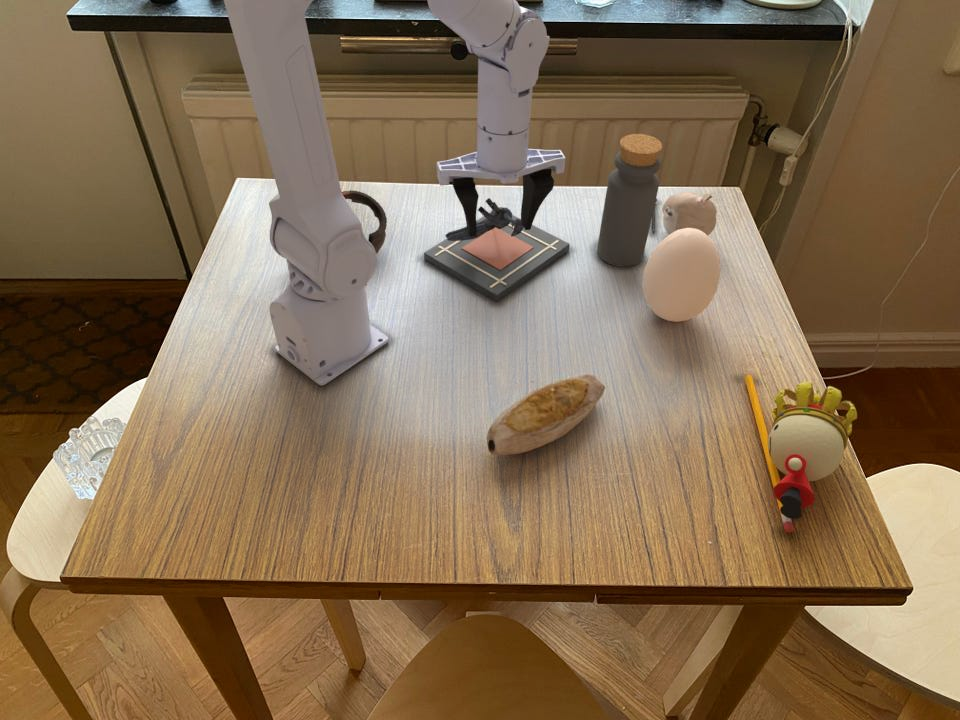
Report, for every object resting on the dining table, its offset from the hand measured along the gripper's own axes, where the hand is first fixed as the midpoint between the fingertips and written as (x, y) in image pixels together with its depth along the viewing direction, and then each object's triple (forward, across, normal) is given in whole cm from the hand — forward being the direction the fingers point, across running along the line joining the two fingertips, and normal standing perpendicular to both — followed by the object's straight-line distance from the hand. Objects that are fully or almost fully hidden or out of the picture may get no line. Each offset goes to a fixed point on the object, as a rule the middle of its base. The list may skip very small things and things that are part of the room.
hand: (498, 228), depth 86 cm
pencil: (+4, +18, -35) cm, 40 cm away
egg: (+4, +17, -15) cm, 23 cm away
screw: (+4, +23, +4) cm, 24 cm away
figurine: (-3, -2, +2) cm, 4 cm away
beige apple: (+4, +25, -1) cm, 25 cm away
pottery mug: (+4, -19, +5) cm, 20 cm away
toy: (+1, +14, -44) cm, 46 cm away
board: (+4, 0, 0) cm, 4 cm away
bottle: (+4, +15, -3) cm, 16 cm away
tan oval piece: (+4, -2, -28) cm, 29 cm away
